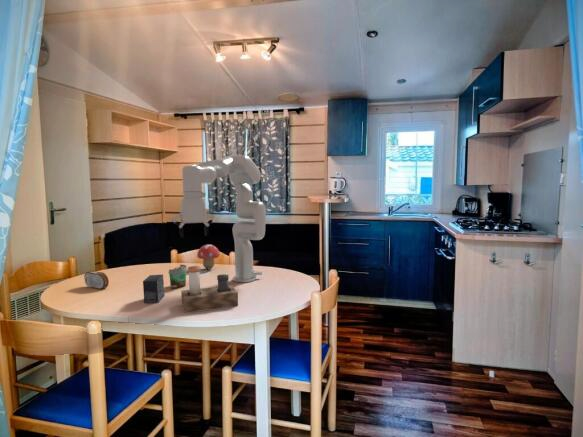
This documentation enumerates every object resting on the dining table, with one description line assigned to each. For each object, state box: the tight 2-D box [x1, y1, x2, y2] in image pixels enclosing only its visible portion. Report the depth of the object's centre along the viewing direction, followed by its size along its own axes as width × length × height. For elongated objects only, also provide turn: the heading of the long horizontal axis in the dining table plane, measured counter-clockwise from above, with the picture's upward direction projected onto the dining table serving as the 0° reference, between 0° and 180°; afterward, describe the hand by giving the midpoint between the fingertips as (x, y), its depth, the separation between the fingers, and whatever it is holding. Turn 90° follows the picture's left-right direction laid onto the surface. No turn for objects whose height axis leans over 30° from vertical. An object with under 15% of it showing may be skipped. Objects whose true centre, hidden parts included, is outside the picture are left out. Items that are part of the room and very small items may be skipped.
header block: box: [181, 284, 239, 313], centre depth 156 cm, size 22×12×6 cm, turn 111°
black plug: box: [216, 273, 230, 292], centre depth 158 cm, size 5×5×12 cm
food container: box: [168, 263, 188, 290], centre depth 185 cm, size 12×6×10 cm, turn 168°
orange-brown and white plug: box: [187, 265, 201, 296], centre depth 153 cm, size 5×5×12 cm
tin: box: [83, 270, 110, 290], centre depth 183 cm, size 15×3×8 cm, turn 65°
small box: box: [142, 274, 165, 304], centre depth 163 cm, size 11×6×10 cm, turn 5°
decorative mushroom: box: [196, 244, 221, 270], centre depth 222 cm, size 13×13×15 cm
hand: (194, 236), depth 153 cm, fingers open, 9 cm apart
